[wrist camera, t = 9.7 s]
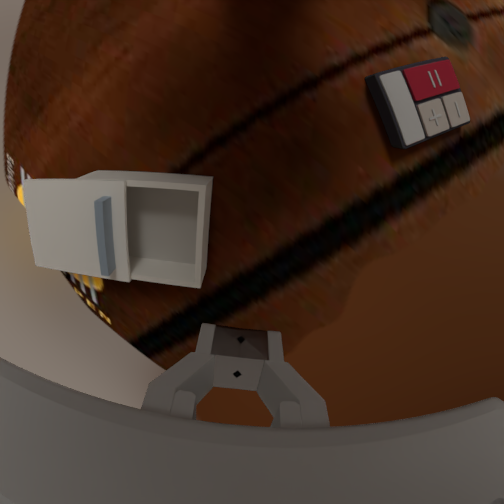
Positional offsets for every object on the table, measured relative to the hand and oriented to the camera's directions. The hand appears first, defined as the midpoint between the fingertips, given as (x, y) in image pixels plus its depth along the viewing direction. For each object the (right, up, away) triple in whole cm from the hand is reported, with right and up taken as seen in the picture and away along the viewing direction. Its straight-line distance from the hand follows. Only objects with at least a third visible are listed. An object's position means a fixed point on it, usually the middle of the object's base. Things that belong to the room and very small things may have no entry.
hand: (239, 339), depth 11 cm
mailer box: (-15, +8, +30) cm, 34 cm away
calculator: (+25, +26, +22) cm, 42 cm away
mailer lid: (-25, +7, +24) cm, 35 cm away
